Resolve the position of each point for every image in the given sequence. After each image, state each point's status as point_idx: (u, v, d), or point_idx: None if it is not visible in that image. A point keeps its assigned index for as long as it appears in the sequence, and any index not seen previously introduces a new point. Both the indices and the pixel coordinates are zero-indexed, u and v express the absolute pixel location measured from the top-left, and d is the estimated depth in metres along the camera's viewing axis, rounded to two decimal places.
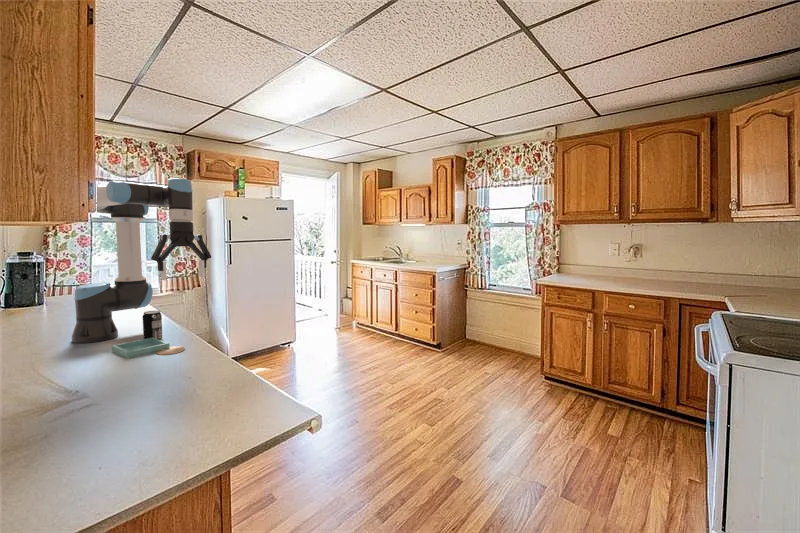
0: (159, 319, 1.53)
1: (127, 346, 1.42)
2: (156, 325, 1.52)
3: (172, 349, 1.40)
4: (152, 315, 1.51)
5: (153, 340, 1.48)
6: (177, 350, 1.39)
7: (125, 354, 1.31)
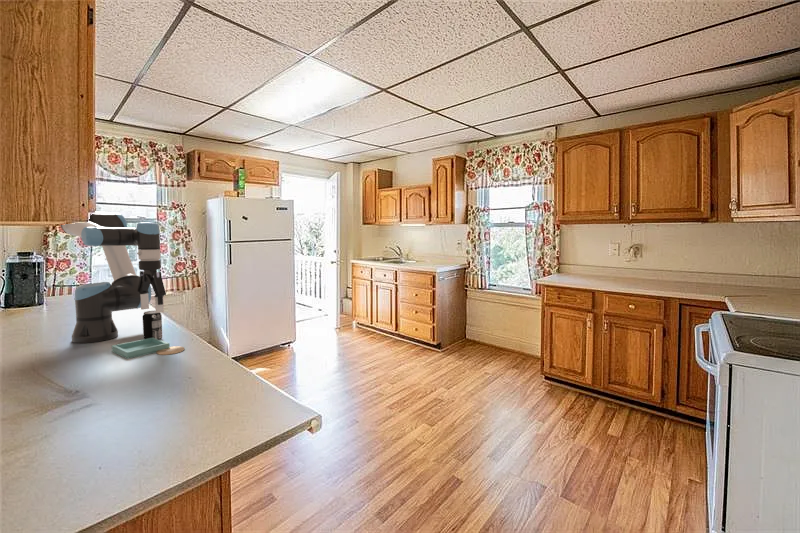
0: (159, 319, 1.53)
1: (127, 346, 1.42)
2: (156, 325, 1.52)
3: (172, 349, 1.40)
4: (152, 315, 1.51)
5: (153, 340, 1.48)
6: (177, 350, 1.39)
7: (125, 354, 1.31)
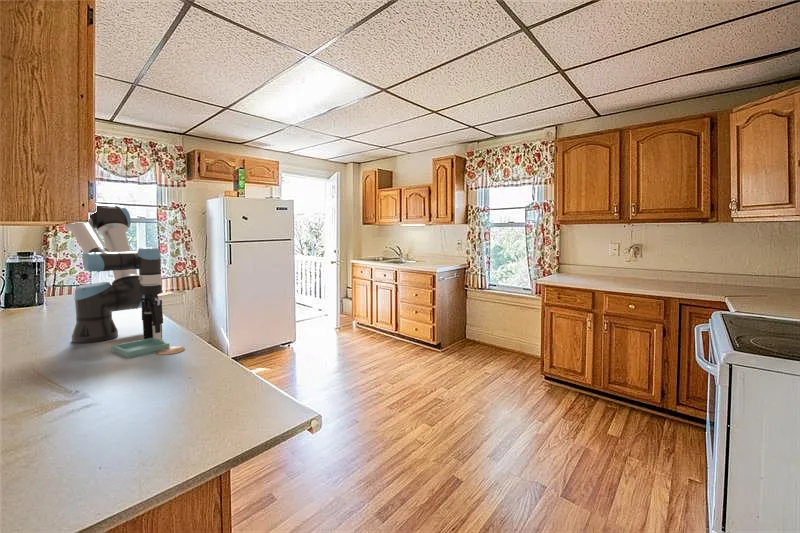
0: None
1: (127, 346, 1.42)
2: None
3: (172, 349, 1.40)
4: None
5: (153, 340, 1.48)
6: (177, 350, 1.39)
7: (125, 354, 1.31)
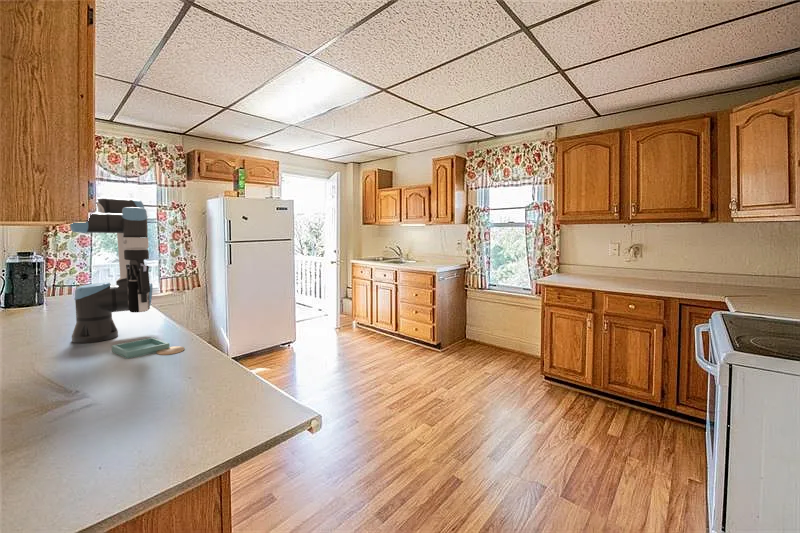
0: None
1: (127, 346, 1.42)
2: None
3: (172, 349, 1.40)
4: None
5: (153, 340, 1.48)
6: (177, 350, 1.39)
7: (125, 354, 1.31)
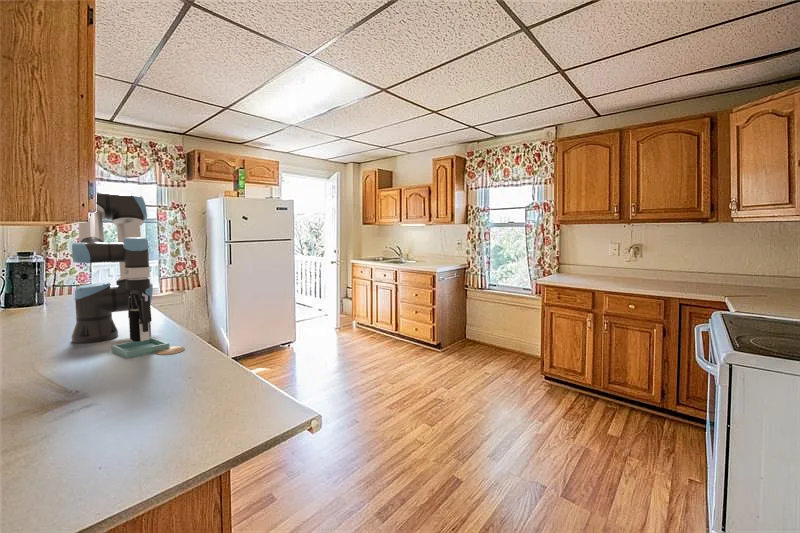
0: None
1: (127, 346, 1.42)
2: None
3: (172, 349, 1.40)
4: None
5: (153, 340, 1.48)
6: (177, 350, 1.39)
7: (125, 354, 1.31)
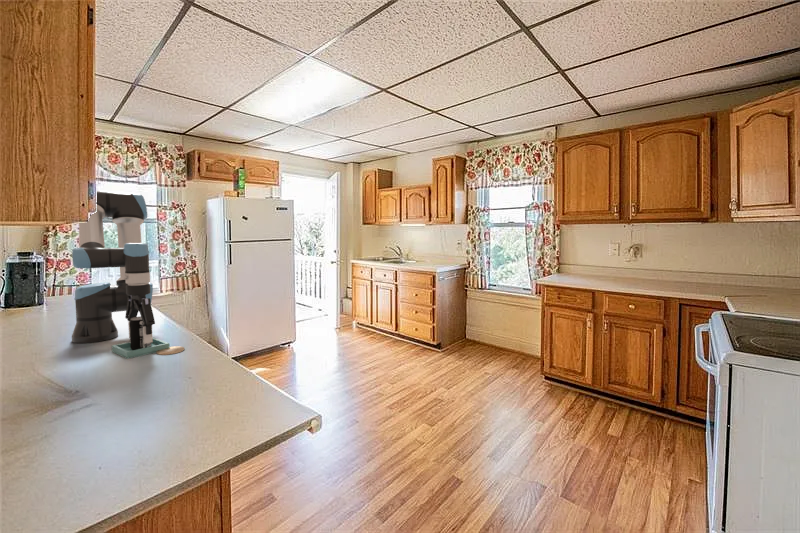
0: None
1: (127, 346, 1.42)
2: None
3: (172, 349, 1.40)
4: (139, 321, 1.37)
5: (153, 340, 1.48)
6: (177, 350, 1.39)
7: (125, 354, 1.31)
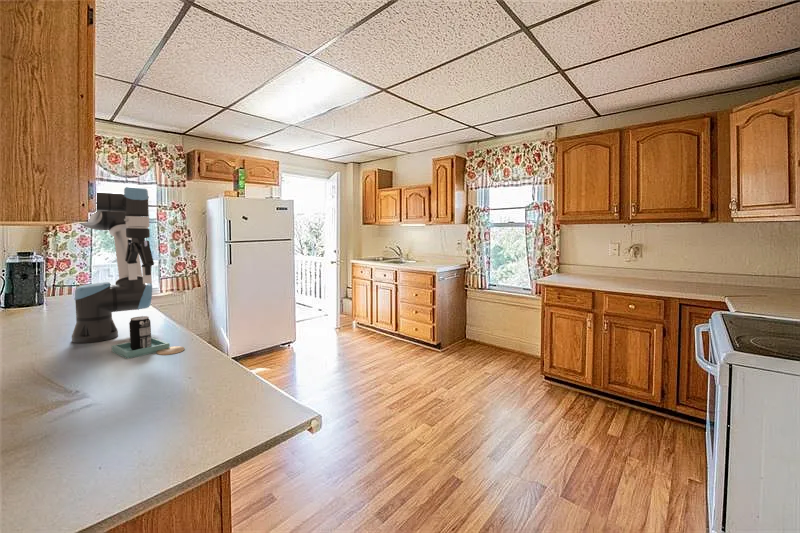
0: (148, 326, 1.39)
1: (127, 346, 1.42)
2: (144, 332, 1.38)
3: (172, 349, 1.40)
4: (139, 321, 1.37)
5: (153, 340, 1.48)
6: (177, 350, 1.39)
7: (125, 354, 1.31)
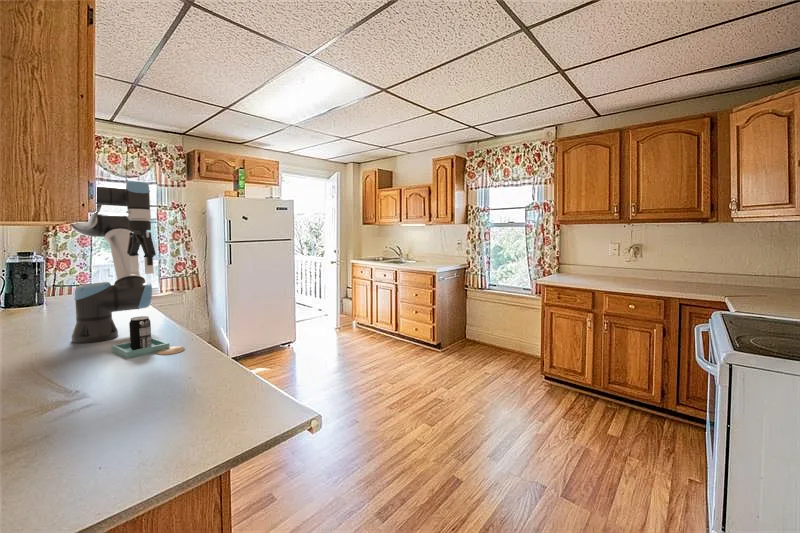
0: (148, 326, 1.39)
1: (127, 346, 1.42)
2: (144, 332, 1.38)
3: (172, 349, 1.40)
4: (139, 321, 1.37)
5: (153, 340, 1.48)
6: (177, 350, 1.39)
7: (125, 354, 1.31)
